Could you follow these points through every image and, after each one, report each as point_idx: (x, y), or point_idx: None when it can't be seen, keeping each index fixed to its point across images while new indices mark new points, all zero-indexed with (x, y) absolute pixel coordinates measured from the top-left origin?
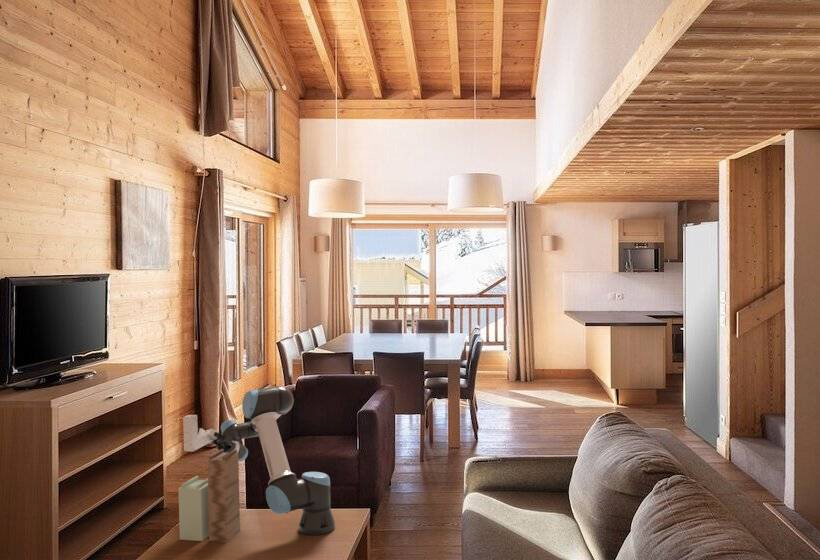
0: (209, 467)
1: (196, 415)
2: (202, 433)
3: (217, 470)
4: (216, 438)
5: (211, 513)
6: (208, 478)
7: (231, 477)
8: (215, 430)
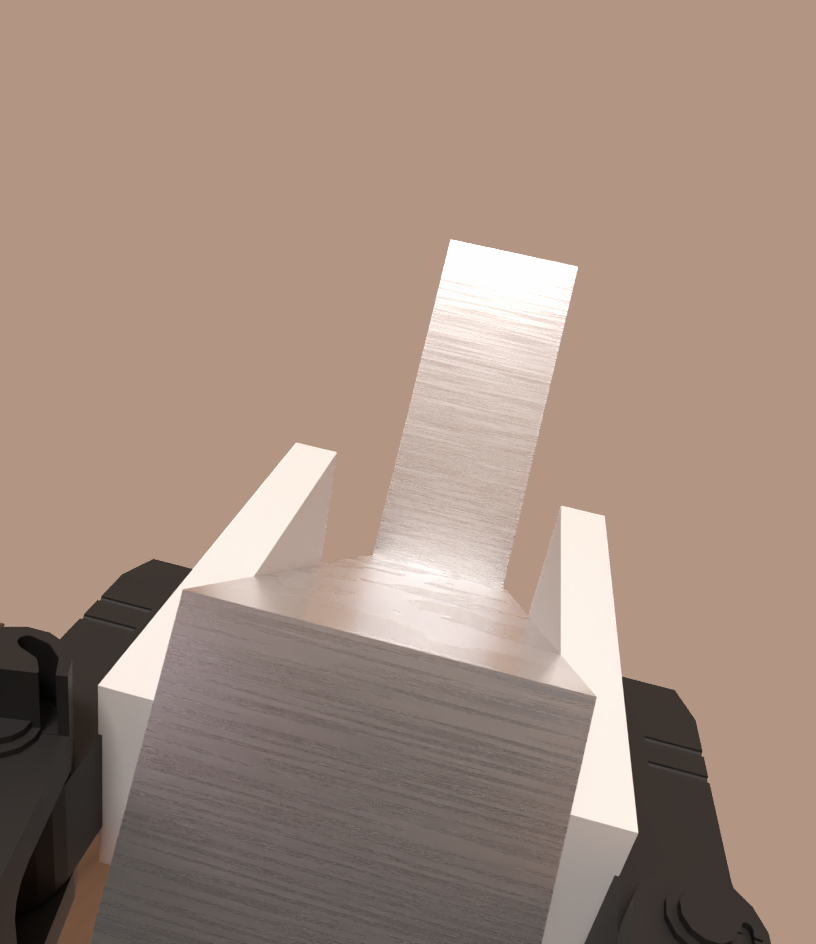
0: None
1: (451, 248)
2: (477, 605)
3: None
4: (111, 833)
5: None
6: None
7: None
8: (224, 582)
